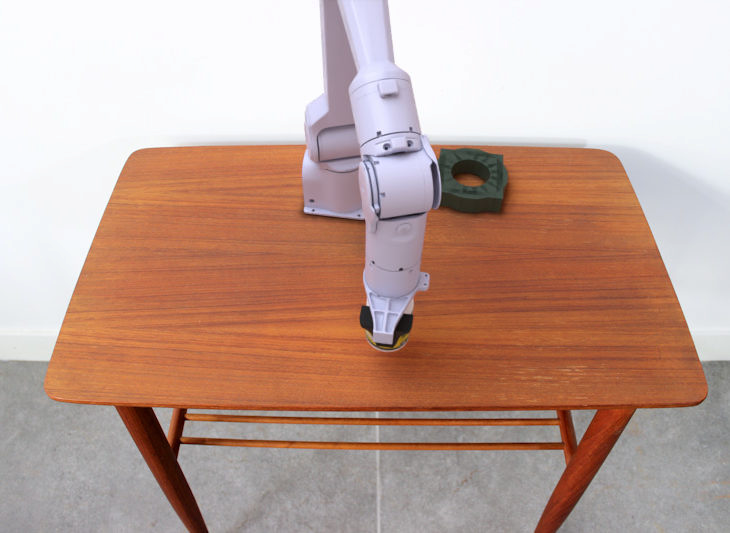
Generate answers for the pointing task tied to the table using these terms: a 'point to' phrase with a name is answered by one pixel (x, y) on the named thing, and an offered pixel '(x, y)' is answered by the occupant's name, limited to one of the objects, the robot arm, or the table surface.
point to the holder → (477, 164)
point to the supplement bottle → (402, 339)
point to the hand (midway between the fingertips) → (388, 322)
